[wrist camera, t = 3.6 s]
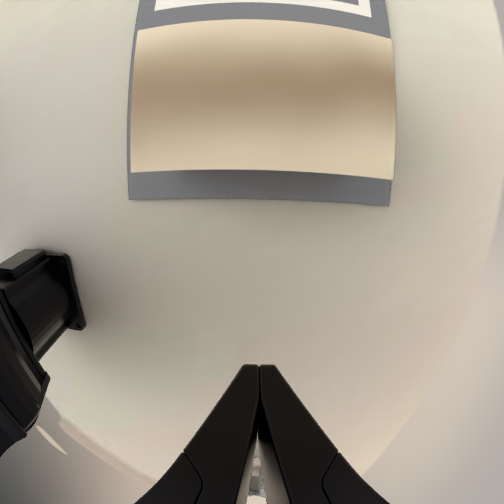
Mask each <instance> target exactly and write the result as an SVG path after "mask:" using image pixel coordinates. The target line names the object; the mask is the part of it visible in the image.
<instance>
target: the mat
mask: <svg viewBox="0 0 504 504" xmlns="http://www.w3.org/2000/svg"><path fill="white" fill-rule="evenodd" d="M231 19H263V20H283V21H296V22H306V23H314V24H322V25H328V26H335V27H340V28H346V29H351V30H356V31H361V32H365V33H369V34H373V35H377V36H381V37H385V38H389V39H390V32H389V24H388V17H387V11H386V4H385V0H140V2H139V7H138V13H137V19H136V25H135V32H134V39H133V47H132V56H131V66H130V77H129V92H128V114H127V171H128V193H129V200H137V199H178V198H237V199H278V200H303V201H323V202H340V203H354V204H368V205H380V206H389V201H390V191H391V180H389V179H381V178H372V177H363V176H353V175H342V174H330V173H316V172H300V171H279V170H238V169H211V170H171V171H150V172H134V173H131V160H130V125H131V97H132V81H133V68H134V58H135V49H136V40H137V33H138V30H143V29H148V28H154V27H160V26H166V25H173V24H180V23H188V22H198V21H211V20H231Z"/></svg>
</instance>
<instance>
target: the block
mask: <svg viewBox="0 0 504 504" xmlns="http://www.w3.org/2000/svg"><path fill="white" fill-rule="evenodd" d="M395 136H396V94H395V71H394V57H393V46H392V39H389V38H385V37H381V36H377V35H373V34H369V33H365V32H361V31H356V30H351V29H346V28H340V27H335V26H328V25H322V24H314V23H306V22H296V21H283V20H263V19H231V20H211V21H198V22H188V23H180V24H173V25H166V26H160V27H154V28H148V29H143V30H138V33H137V40H136V49H135V58H134V68H133V81H132V97H131V125H130V160H131V173H134V172H150V171H171V170H211V169H238V170H279V171H300V172H316V173H330V174H342V175H353V176H363V177H372V178H381V179H389V180H393V175H394V159H395Z"/></svg>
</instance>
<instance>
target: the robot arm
mask: <svg viewBox="0 0 504 504" xmlns="http://www.w3.org/2000/svg"><path fill="white" fill-rule="evenodd" d="M63 260H64V262H65V263H64V262H63ZM79 324H80V325H79ZM67 328H69V329H74V330H80V331H82V330H83V329H84V328H85V321H84V318H83V314H82V311H81V307H80V303H79V299H78V295H77V291H76V287H75V283H74V278H73V274H72V269H71V264H70V259H69V257H68V256H67V255H66V254H58V253H46V251H44V250H30V249H25V250H23V251H21V252H18V253H16V254H15V255H14V256H12V257H11V258H9V259H7V260H6V261H4V262H2V263H1V264H0V457H1V456H2V454H3V453H4V452H5V451H6V450H7V449H8V448H9V447H10V446H12V445H13V444H14V443H15V442H17V441H19V440H21V439H23V438H25V437H26V436H27V433H26V432H27V431H28V430H30V428H32V426H33V425H34V424H35V422H36V420H37V418H38V415H39V412H40V408H41V405H42V402H43V399H44V396H45V393H46V390H47V387H48V384H49V381H50V376H49V375H48V373H47V372H45V371H44V369H43V368H42V366H41V364H40V363H39V360H40V359H41V358H42V357H43V356H44V354H45V353H46V352H47V351H48V350H49V349H50V347H51V346H52V345H53V344H54V343H55V342H56V340H57V339H58V338H59V337H60V336H61V335H62V334H63V333H64V331H65V330H66V329H67ZM257 431H258V446H259V453H260V460H261V467H262V474H263V481H264V488H265V494H266V501H267V504H390V503H388V502H387V501H386V500H385V499H384V498H383V497H381V496H380V495H379V494H378V493H377V492H376V491H375V490H374V489H373V488H372V487H370V486H369V485H368V484H367V483H366V482H365V481H364V480H363V479H362V478H361V477H360V476H359V475H358V473H357V472H356V471H355V470H354V469H353V468H352V467H351V465H350V464H349V463H348V462H347V461H346V459H345V458H344V457H343V456H342V454H341V453H338V449H337V448H336V447H335V446H334V444H333V443H332V442H331V440H330V439H329V438H328V437H327V435H326V434H325V433H324V431H323V430H322V429H321V427H320V426H319V425H318V423H317V422H316V421H315V419H314V418H313V417H312V415H311V414H310V413H309V411H308V410H307V409H306V407H305V406H304V405H303V403H302V402H301V401H300V399H299V398H298V397H297V395H296V394H295V392H294V391H293V390H292V388H291V387H290V385H289V384H288V383H287V381H286V380H285V379H284V377H283V376H282V374H281V373H280V372H279V370H278V369H277V367H276V366H275V365H260V366H258V365H257V364H244V365H243V366H242V367H241V369H240V370H239V372H238V373H237V375H236V376H235V378H234V379H233V381H232V382H231V384H230V385H229V387H228V388H227V390H226V391H225V393H224V394H223V395H222V397H221V398H220V400H219V401H218V403H217V404H216V406H215V407H214V408H213V410H212V411H211V413H210V414H209V416H208V417H207V418H206V420H205V421H204V423H203V424H202V425H201V427H200V428H199V430H198V431H197V432H196V434H195V435H194V437H193V438H192V439H191V441H190V442H189V443H188V445H187V446H186V447H185V449H184V450H183V451H184V453H183V452H182V453H181V454H180V455H179V457H178V458H177V459H176V461H175V462H174V463H173V464H172V466H171V467H170V468H169V469H168V470H167V472H166V473H165V474H164V475H163V476H162V478H161V479H160V480H159V481H158V482H157V483H156V484H155V485H154V486H153V487H152V488H151V489H150V490H149V491H148V492H147V493H146V494H144V495H143V496H142V497H141V498H140V499H139V500H138V501H137V502H136V503H134V504H246V501H247V496H248V490H249V485H250V479H251V473H252V467H253V461H254V455H255V449H256V442H257Z"/></svg>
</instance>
